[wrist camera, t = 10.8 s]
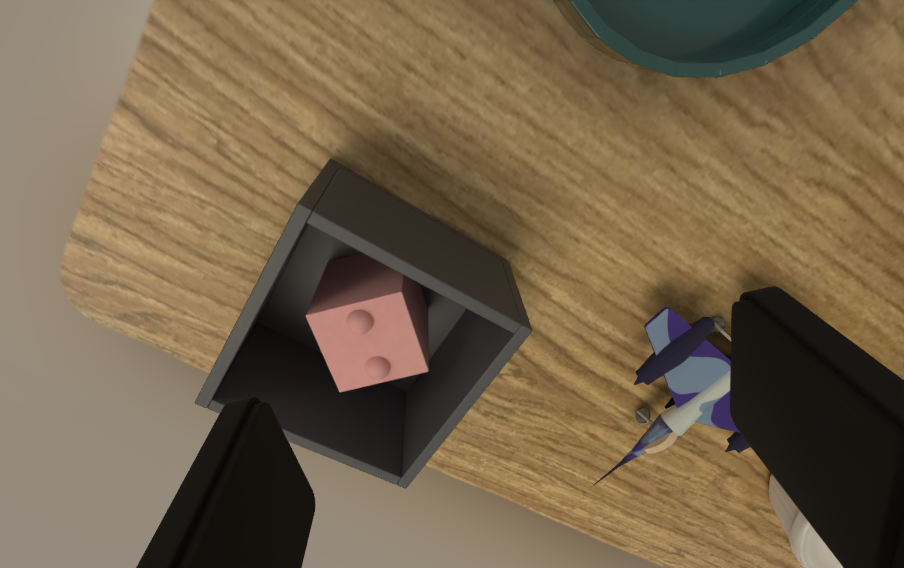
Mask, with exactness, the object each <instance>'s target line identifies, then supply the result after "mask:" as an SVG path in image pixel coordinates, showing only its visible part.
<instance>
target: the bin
mask: <svg viewBox="0 0 904 568" xmlns="http://www.w3.org/2000/svg"><path fill="white" fill-rule="evenodd" d="M358 253H364V254H366V255H367V256H369V257H371V258H373V259H375V260H377V261H379V262H381V263H382V264H384V265H386V266H388V267H390V268H392V269H394V270H396V271H397V272H399V273H401V274H403V275H405V276H407V277H409V278H411V279H412V280H414V281H416V282H418V283H420V286H421V289H422V292H423V295H424V298H425V301H426V305H427V308H428V346H429V371H428V372H425V373H420V374H416V375H412V376H408V377H404V378H399V379H395V380H391V381H387V382H382V383H378V384H374V385H370V386H365V387H361V388H357V389H353V390H348V391H344V392H339V390H338V388H337V385H336V383H335V381H334V379H333V376H332V374H331V372H330V370H329V367H328V365H327V363H326V361H325V358H324V356H323V354H322V352H321V349H320V347H319V345H318V343H317V341H316V338H315V336H314V334H313V332H312V329H311V327H310V325H309V323H308V320H307V318H306V313H307V311H308V308H309V306H310V303H311V301H312V299H313V296H314V294H315V291H316V289H317V287H318V284H319V282H320V279H321V277H322V275H323V272H324V270H325V267H326V265H327V263H328V261H331V260H335V259H339V258H343V257H347V256H351V255H354V254H358ZM531 332H532V328H531V325H530V322H529V319H528V316H527V313H526V310H525V308H524V305H523V302H522V299H521V296H520V293H519V290H518V288H517V285H516V282H515V279H514V276H513V273H512V270H511V267H510V264H509V262H508V261H507V260H505V259H503V258H502V257H500V256H498V255H497V254H495V253H493V252H491V251H490V250H488V249H486V248H484V247H483V246H481V245H479V244H478V243H476V242H474V241H472V240H471V239H469V238H467V237H465V236H464V235H462V234H460V233H459V232H457V231H455V230H453V229H452V228H450V227H448V226H446V225H445V224H443V223H441V222H440V221H438V220H436V219H434V218H433V217H431V216H429V215H427V214H426V213H424V212H422V211H421V210H419V209H417V208H415V207H414V206H412V205H410V204H408V203H407V202H405V201H403V200H402V199H400V198H398V197H396V196H395V195H393V194H391V193H389V192H388V191H386V190H384V189H383V188H381V187H379V186H377V185H376V184H374V183H372V182H370V181H369V180H367V179H365V178H363V177H362V176H360V175H358V174H357V173H355V172H353V171H351V170H350V169H348V168H346V167H344V166H343V165H341V164H339V163H338V162H336V161H334V160H332V159H330V160H329V161H328V162H327V164H326V165H325V166H324V168H323V169H322V171H321V172H320V173H319V175H318V176H317V177H316V179H315V180H314V182H313V183H312V184H311V186H310V187H309V189H308V190H307V191H306V193H305V194H304V195H303V197H302V198H301V200H300V201H299V202H298V204H297V206H296V208H295V210H294V212H293V213H292V215H291V217H290V219H289V221H288V223H287V225H286V227H285V229H284V231H283V233H282V235H281V237H280V239H279V241H278V242H277V244H276V246H275V248H274V250H273V252H272V254H271V256H270V258H269V260H268V262H267V264H266V266H265V268H264V270H263V271H262V273H261V275H260V277H259V279H258V281H257V283H256V285H255V287H254V289H253V291H252V293H251V295H250V297H249V298H248V300H247V302H246V304H245V306H244V308H243V310H242V312H241V314H240V316H239V318H238V320H237V322H236V324H235V326H234V327H233V329H232V331H231V333H230V335H229V337H228V339H227V341H226V343H225V345H224V347H223V349H222V351H221V353H220V355H219V356H218V358H217V360H216V362H215V364H214V366H213V368H212V370H211V372H210V374H209V376H208V378H207V380H206V382H205V384H204V385H203V388H202V389H201V391H200V393H199V395H198V398H197V399H196V401H195V404H197V405H200V406H202V407H205V408H207V407H208V409H210V410H212V411H215V412H217V413H220V412H221V411H222V409H223V407H224V406H225V404H227V403H229V402H233V401H238V400H242V399H247V398H252V397H257V398H258V399H259V400H260V401H261V402H267V403H268V404H269V405H270V406H271V408H272V410H273V412H274V414H275V416H276V418H277V420H278V422H279V424H280V426H281V428H282V430H283V432H284V434H285V436H286V438H287V440H288V441H289V442H292V443H294V444H297V445H299V446H302V447H304V448H307V449H309V450H312V451H314V452H316V453H319V454H321V455H324V456H326V457H329V458H331V459H334V460H336V461H338V462H341V463H344V464H346V465H348V466H351V467H353V468H356V469H359V470H361V471H363V472H366V473H368V474H371V475H373V476H376V477H378V478H381V479H383V480H385V481H388V482H390V483H393V484H397V485H398V486H400V487H403V488H407V487H408V485H409V484H410V483H411V482H412V480H413V479H414V478H415V477H416V476H417V474H418V473H419V472H420V470H421V469H422V468H423V467H424V466H425V464H426V463H427V462H428V461H429V459H430V458H431V457H432V456H433V454H434V453H435V452H436V451H437V449H438V448H439V447H440V446H441V444H442V443H443V442H444V441H445V439H446V438H447V437H448V436H449V434H450V433H451V432H452V431H453V429H454V428H455V427H456V426H457V424H458V423H459V422H460V421H461V419H462V418H463V417H464V416H465V414H466V413H467V412H468V411H469V409H470V408H471V407H472V406H473V404H474V403H475V402H476V401H477V399H478V398H479V397H480V396H481V394H482V393H483V392H484V391H485V389H486V388H487V387H488V386H489V384H490V383H491V382H492V381H493V379H494V378H495V377H496V376H497V374H498V373H499V372H500V371H501V369H502V368H503V367H504V366H505V364H506V363H507V362H508V361H509V359H510V358H511V357H512V356H513V354H514V353H515V352H516V351H517V349H518V348H519V347H520V346H521V344H522V343H523V342H524V341H525V339H526V338H527V337H528V336H529V334H530V333H531Z"/></svg>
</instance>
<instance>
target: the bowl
mask: <svg viewBox="0 0 904 568" xmlns="http://www.w3.org/2000/svg"><path fill="white" fill-rule="evenodd" d="M553 1H554V3H555V4H556V6H557V7H558V9H559V10H560V12H561V13H562V15H563V16H564V18H565V19H566V20H567V21H568V23H569V24H570V25H571V26H572V27H573V28H574V29H575V30H576V31H577V33H578V34H579V35H580V36H581V37H583V38H584V39H585V40H586V41H587V42H589V43H590V44H591V45H592V46H593V47H595V48H596V49H598V50H599V51H601V52H603V53H604V54H606V55H607V56H609V57H611V58H612V59H614V60H616V61H618V62H621V63H625V64H627V65H630V66H633V67H637V68H640V69H643V70H646V71H649V72H653V73H658V74H663V75H668V76H672V77H714V78H718V77H723V76H727V75H731V74H734V73H738V72H742V71H746V70H749V69H753V68H757V67H761V66H764V65H765V64H768V63H770V62H772V61H774V60H776V59H777V58H779V57H781V56H783V55H785V54H787V53H788V52H790V51H792V50H794V49H796V48H798V47H800V46H801V45H803V44H805V43H807V42H809V41H810V40H811V39H813V38H814V37H816V36H817V35H818V34H819V33H820V32H821V31H823V30H824V29H825V28H826V27H827V26H829V25H830V24H831V23H832V22H833V21H834V20H836V19H837V18H838V17H839V16H840V15H842V14H843V13H844V12H845V11H846V10H847V9H849V8H850V7H851V6H852V5H853V4H854V3H856V2H857V0H553Z"/></svg>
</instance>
